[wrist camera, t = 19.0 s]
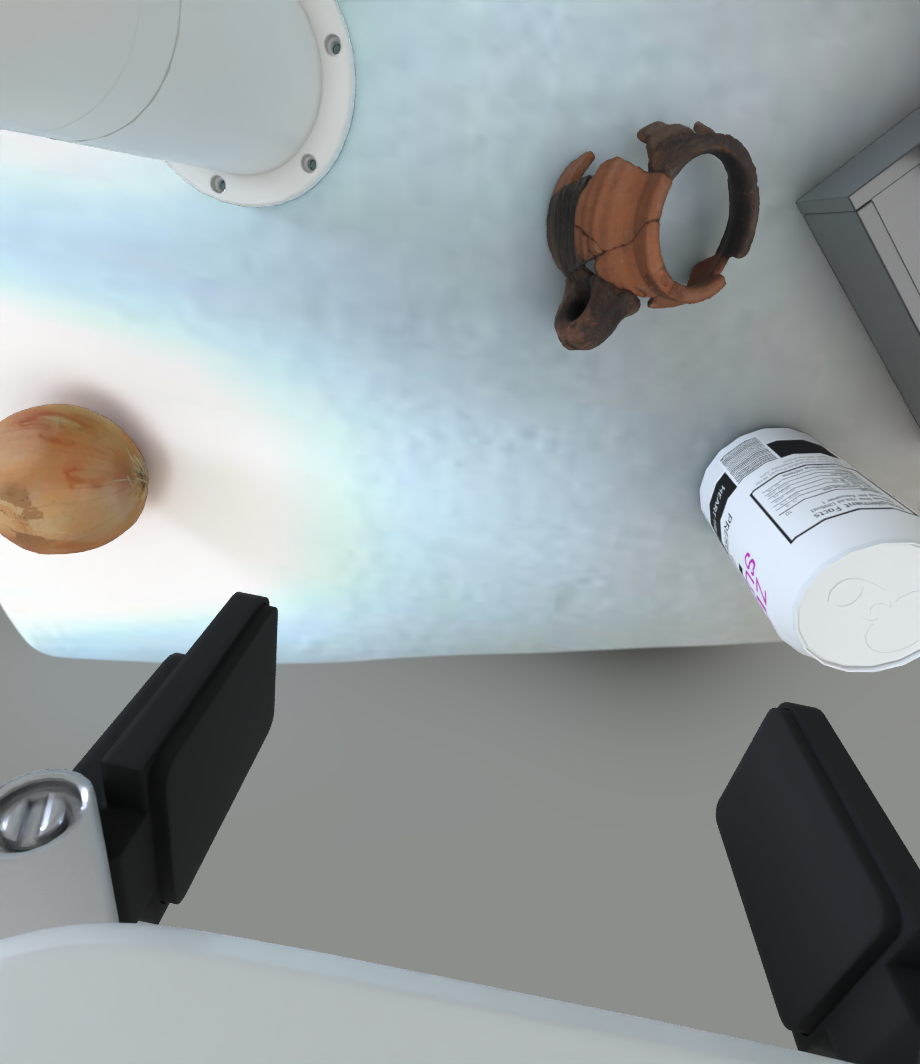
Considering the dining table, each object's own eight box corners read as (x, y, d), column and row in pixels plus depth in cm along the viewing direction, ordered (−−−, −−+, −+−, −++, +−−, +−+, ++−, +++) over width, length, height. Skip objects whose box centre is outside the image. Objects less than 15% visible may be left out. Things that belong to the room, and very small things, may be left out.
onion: (19, 399, 42) (-115, 444, 34) (144, 379, 41) (39, 421, 32) (79, 521, 47) (-26, 590, 38) (195, 507, 45) (114, 575, 36)
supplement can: (855, 459, 39) (1029, 580, 25) (770, 556, 42) (882, 706, 29) (750, 401, 38) (873, 496, 24) (672, 506, 41) (742, 638, 28)
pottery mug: (584, 94, 32) (700, 57, 25) (686, 198, 37) (805, 190, 30) (481, 308, 34) (563, 326, 28) (591, 377, 39) (682, 406, 33)
